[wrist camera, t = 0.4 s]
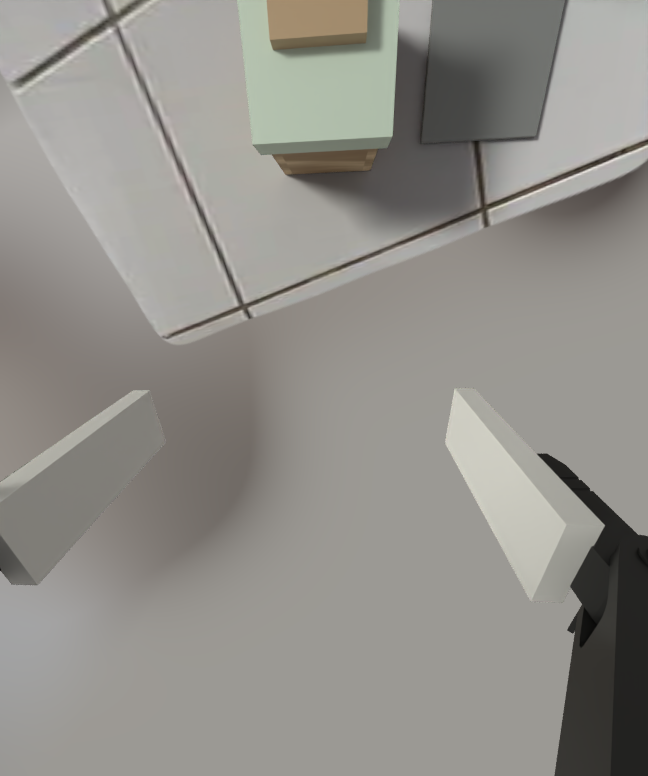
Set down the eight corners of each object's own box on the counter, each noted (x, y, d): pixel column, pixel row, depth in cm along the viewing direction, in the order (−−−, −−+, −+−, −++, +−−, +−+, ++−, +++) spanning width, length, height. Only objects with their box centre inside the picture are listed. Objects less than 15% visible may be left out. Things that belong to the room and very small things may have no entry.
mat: (437, -53, 24) (438, -59, 24) (575, -66, 24) (580, -72, 23) (420, 143, 30) (421, 142, 29) (533, 137, 29) (536, 135, 29)
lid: (237, -82, 18) (216, -152, 15) (398, -98, 18) (411, -174, 15) (260, 155, 23) (248, 139, 20) (387, 148, 23) (394, 130, 20)
